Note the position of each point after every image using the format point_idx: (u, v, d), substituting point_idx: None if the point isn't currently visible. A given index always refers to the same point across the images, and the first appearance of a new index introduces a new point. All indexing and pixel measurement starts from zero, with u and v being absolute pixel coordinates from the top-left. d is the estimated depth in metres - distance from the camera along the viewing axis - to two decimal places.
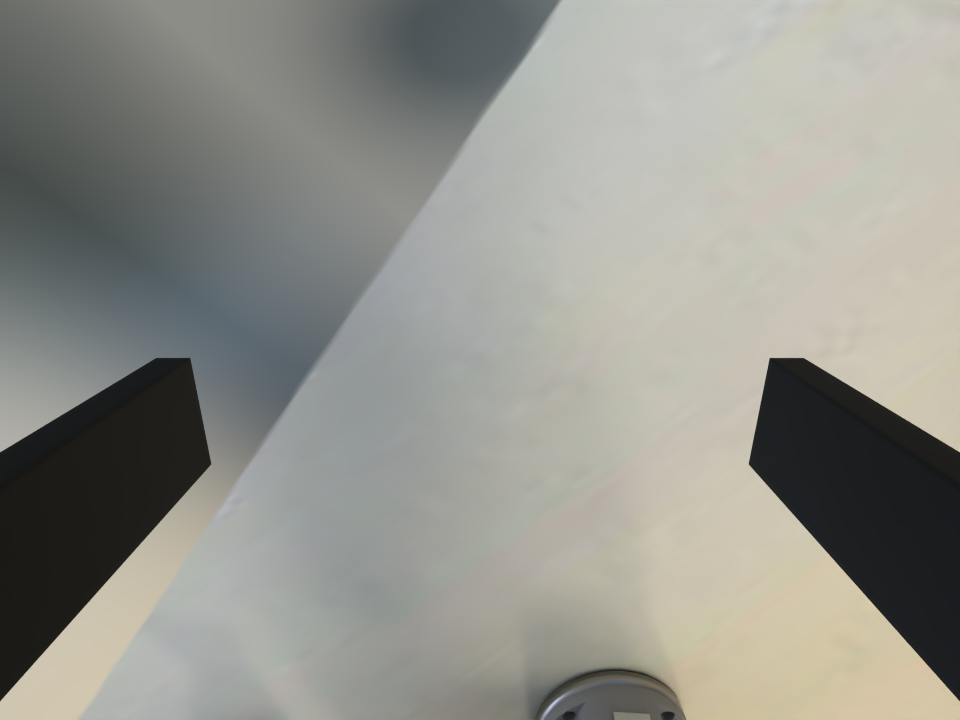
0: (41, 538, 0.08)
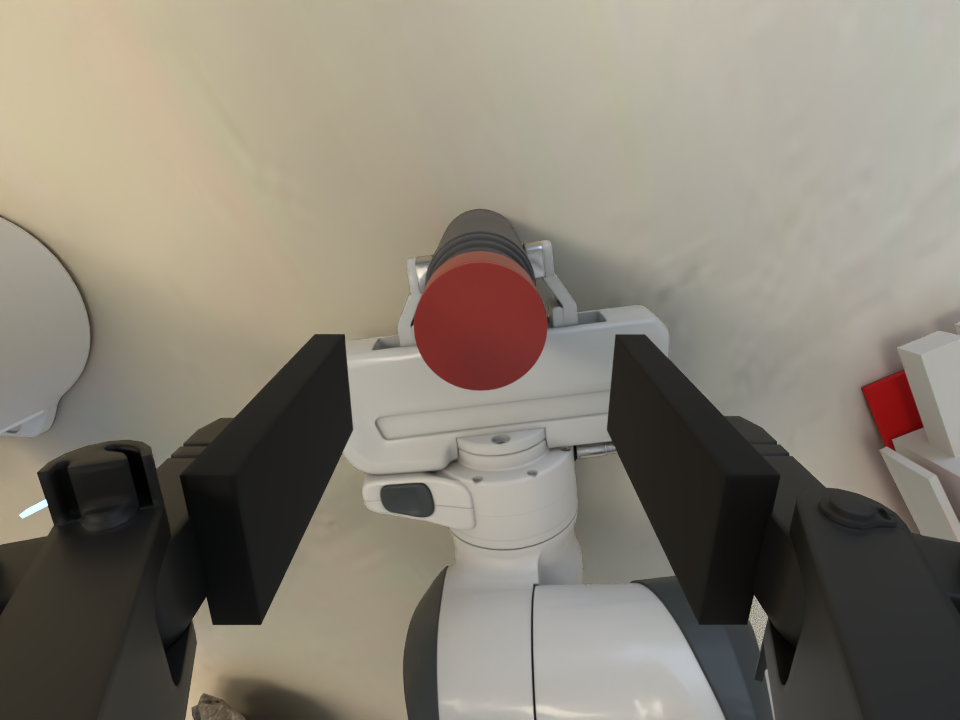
0: (286, 473, 0.10)
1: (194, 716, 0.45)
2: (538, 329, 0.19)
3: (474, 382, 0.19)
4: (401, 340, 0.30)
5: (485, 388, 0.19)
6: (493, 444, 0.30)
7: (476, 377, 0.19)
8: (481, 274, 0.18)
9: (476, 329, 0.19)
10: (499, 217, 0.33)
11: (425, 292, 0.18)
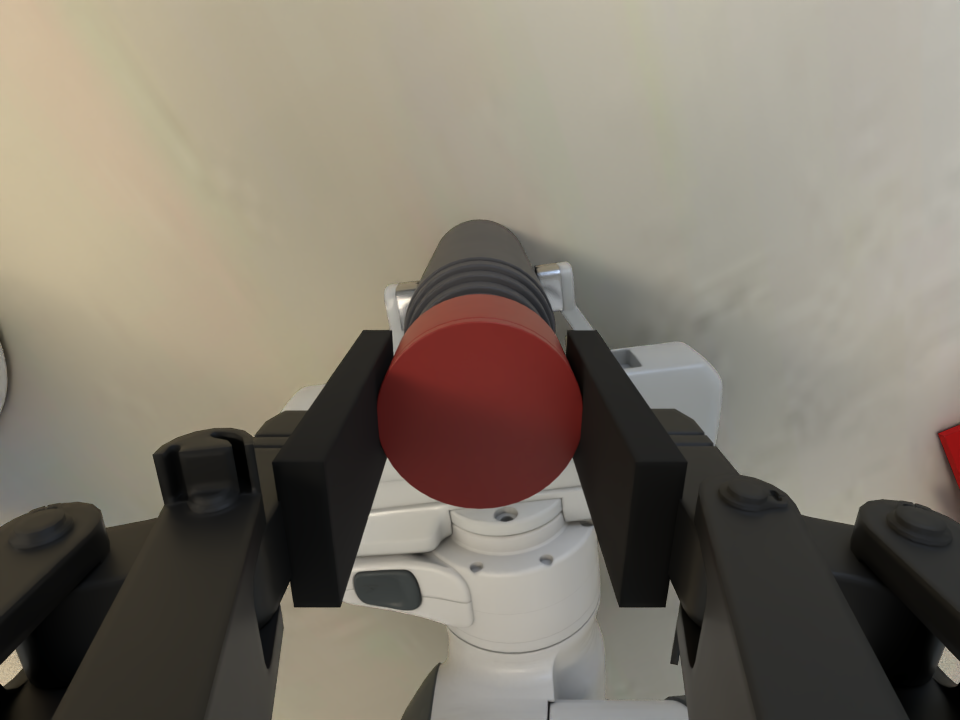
0: (355, 463, 0.10)
1: None
2: (569, 421, 0.12)
3: (470, 497, 0.13)
4: None
5: (487, 505, 0.13)
6: (496, 522, 0.24)
7: (473, 490, 0.13)
8: (481, 339, 0.11)
9: (473, 421, 0.12)
10: (503, 231, 0.26)
11: (392, 366, 0.11)
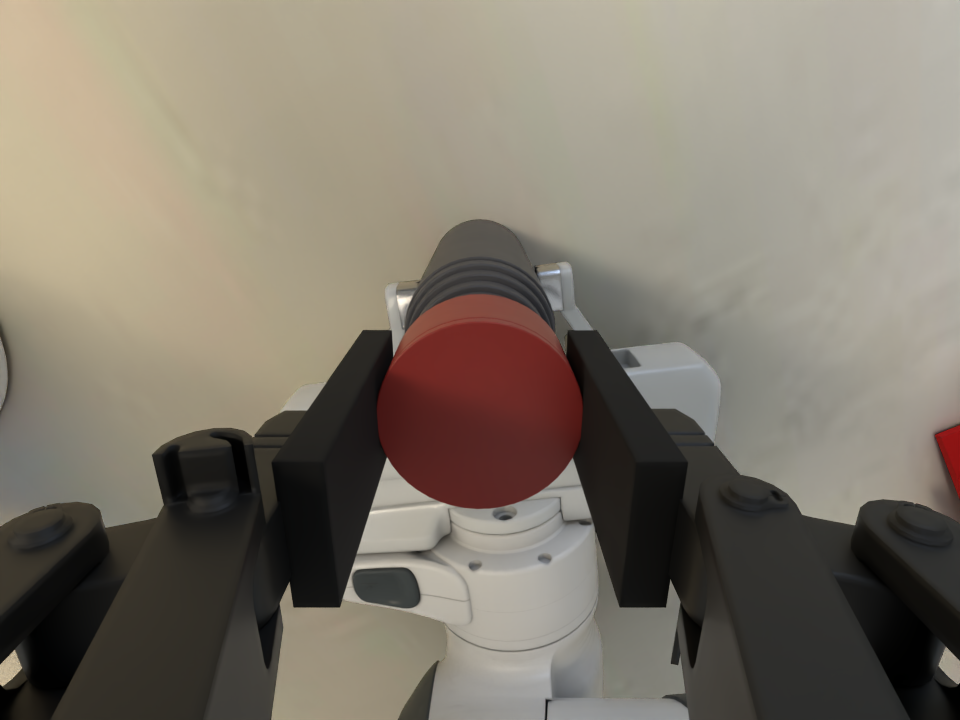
0: (355, 463, 0.10)
1: None
2: (434, 347, 0.11)
3: (564, 390, 0.12)
4: None
5: (566, 371, 0.12)
6: (495, 521, 0.24)
7: (555, 391, 0.12)
8: (405, 457, 0.12)
9: (482, 426, 0.12)
10: (504, 230, 0.26)
11: (469, 506, 0.13)
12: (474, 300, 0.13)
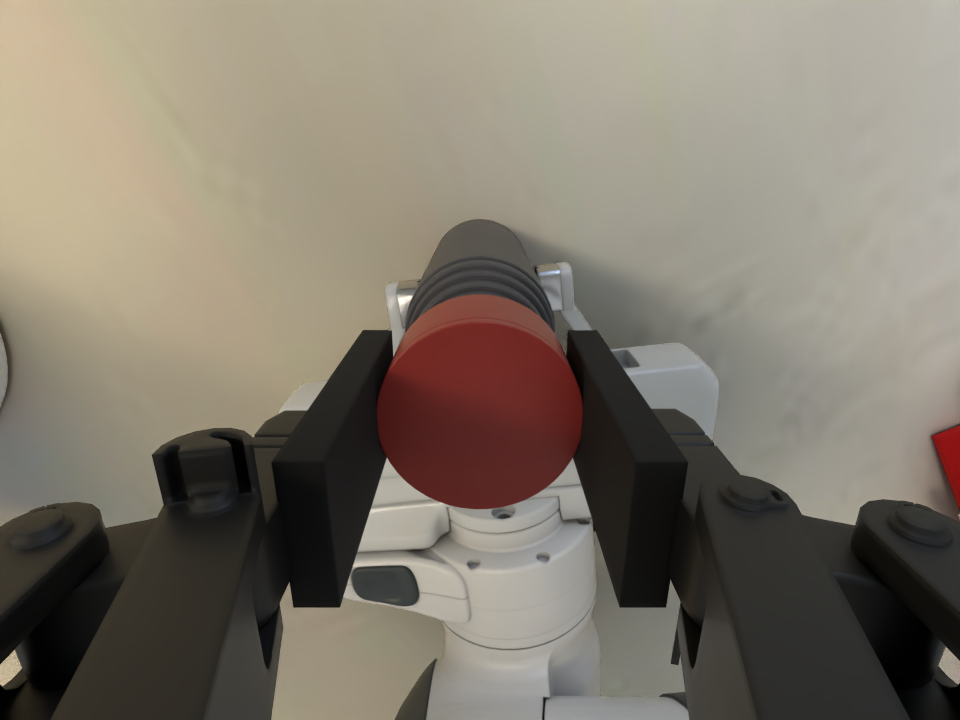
0: (355, 463, 0.10)
1: None
2: (433, 487, 0.12)
3: (407, 368, 0.11)
4: None
5: (389, 378, 0.12)
6: (494, 519, 0.24)
7: (413, 376, 0.12)
8: (549, 464, 0.12)
9: (483, 417, 0.12)
10: (504, 230, 0.26)
11: (576, 386, 0.12)
12: None
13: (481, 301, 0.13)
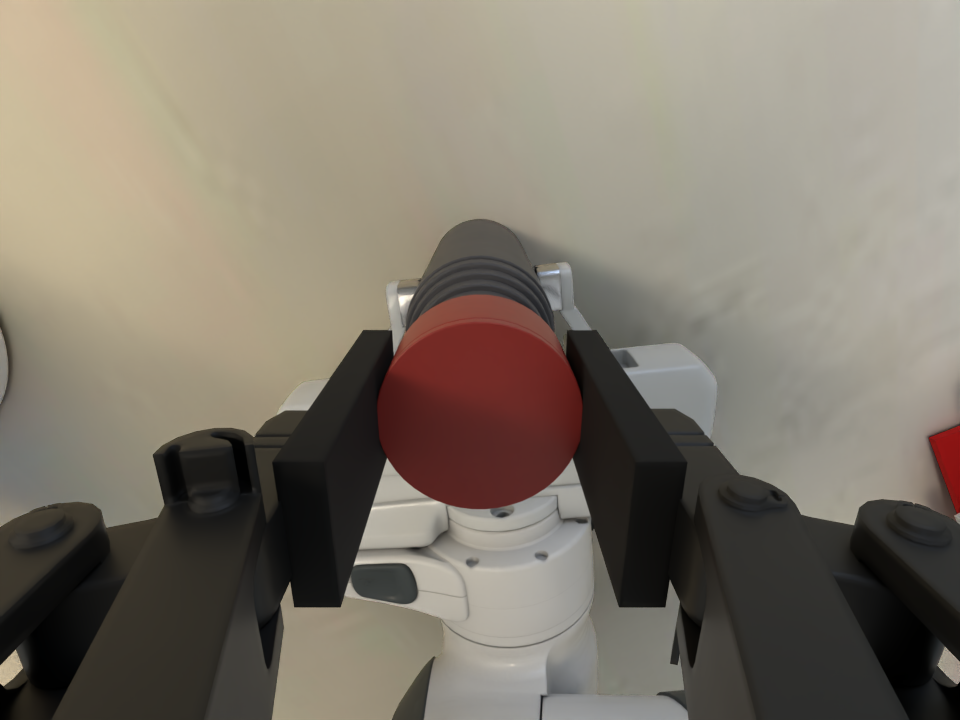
0: (355, 462, 0.10)
1: None
2: (569, 428, 0.12)
3: (464, 496, 0.13)
4: None
5: (480, 506, 0.13)
6: (492, 518, 0.24)
7: (467, 490, 0.13)
8: (488, 340, 0.11)
9: (473, 421, 0.12)
10: (504, 230, 0.27)
11: (397, 361, 0.11)
12: None
13: None
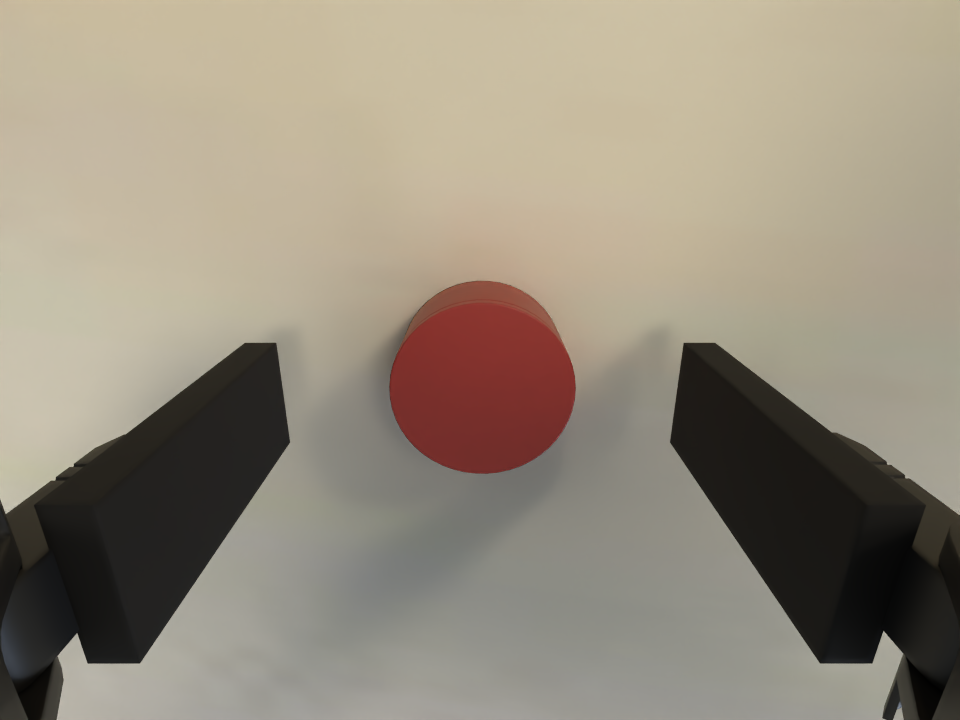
0: (183, 495, 0.09)
1: None
2: (562, 398, 0.13)
3: (468, 462, 0.14)
4: None
5: (482, 471, 0.14)
6: None
7: (471, 456, 0.14)
8: (489, 319, 0.13)
9: (476, 393, 0.13)
10: None
11: (409, 338, 0.13)
12: None
13: None
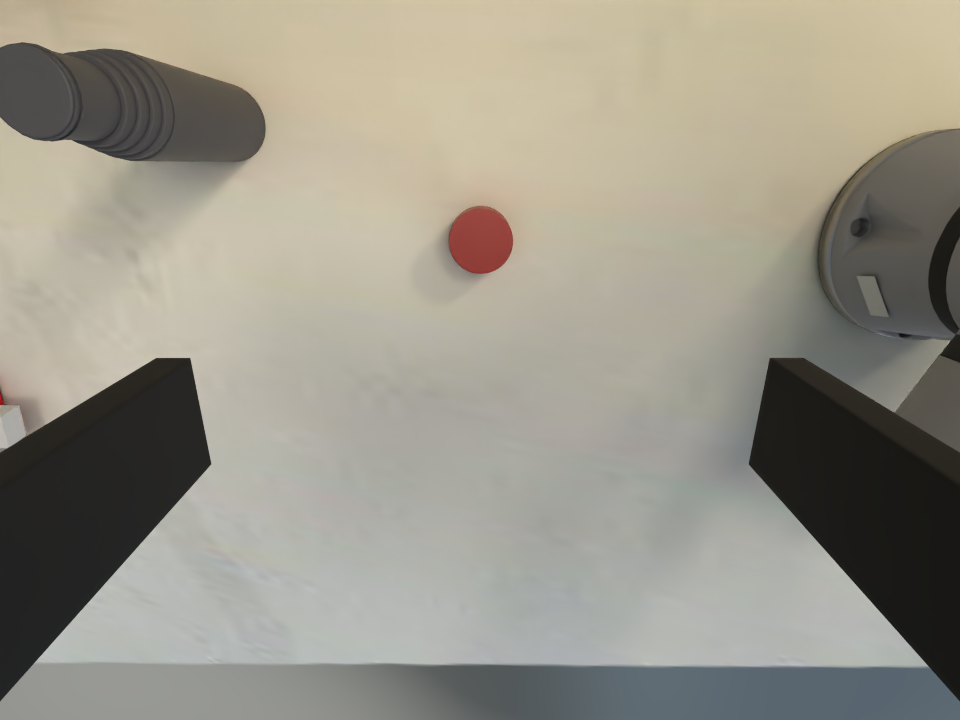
0: (41, 538, 0.08)
1: None
2: (508, 243, 0.39)
3: (475, 268, 0.40)
4: None
5: (481, 272, 0.40)
6: None
7: (477, 266, 0.39)
8: (483, 214, 0.38)
9: (478, 241, 0.39)
10: (237, 155, 0.37)
11: (456, 221, 0.38)
12: None
13: None
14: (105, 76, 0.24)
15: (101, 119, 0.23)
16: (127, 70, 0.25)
